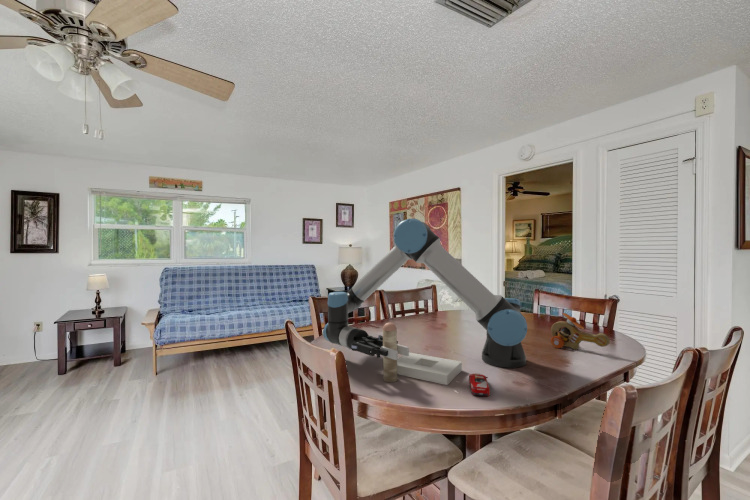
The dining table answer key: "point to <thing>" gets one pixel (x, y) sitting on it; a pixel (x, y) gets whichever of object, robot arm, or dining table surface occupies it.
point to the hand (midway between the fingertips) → (402, 353)
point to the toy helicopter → (574, 334)
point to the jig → (428, 368)
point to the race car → (479, 385)
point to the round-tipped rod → (391, 343)
